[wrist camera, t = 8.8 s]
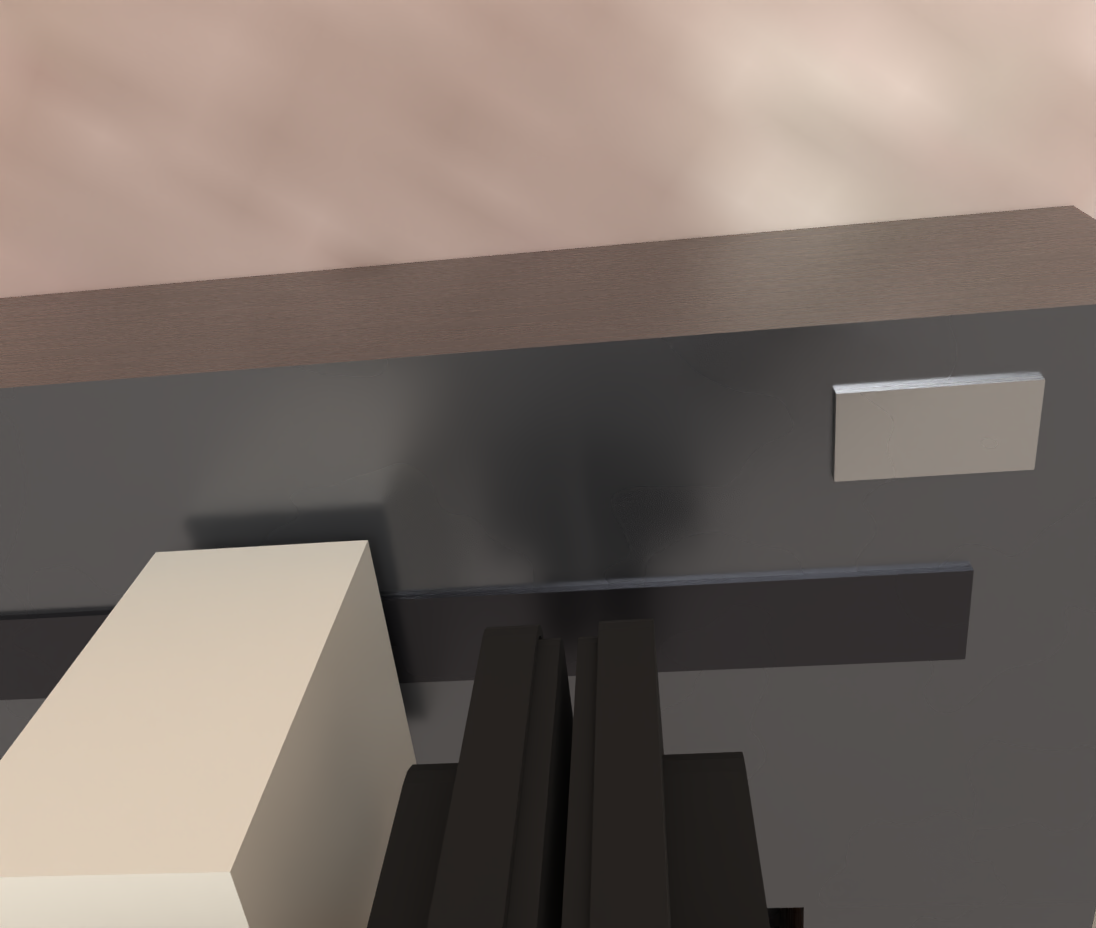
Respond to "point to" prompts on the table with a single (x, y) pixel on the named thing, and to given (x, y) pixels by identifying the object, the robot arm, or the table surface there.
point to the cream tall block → (214, 752)
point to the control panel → (646, 512)
